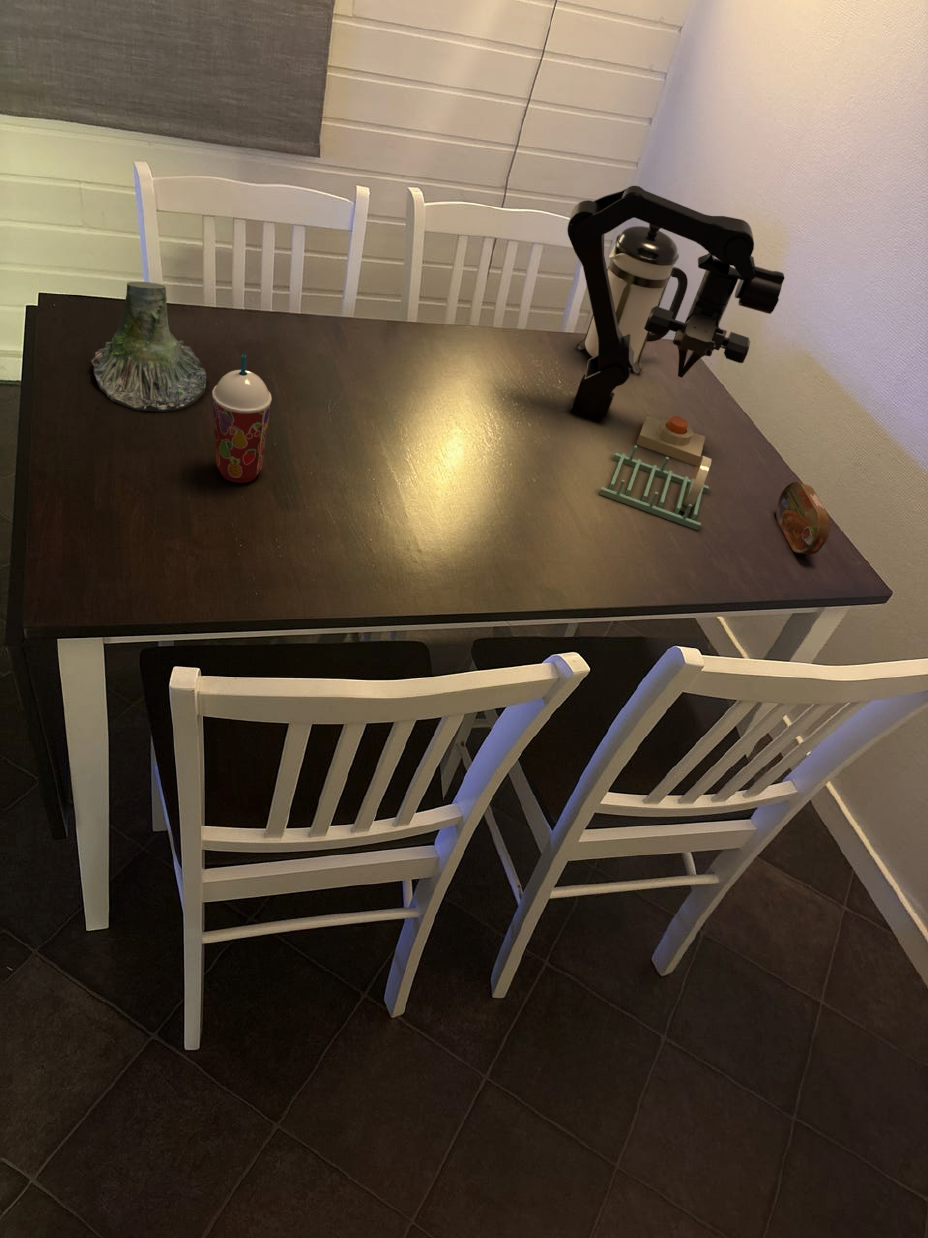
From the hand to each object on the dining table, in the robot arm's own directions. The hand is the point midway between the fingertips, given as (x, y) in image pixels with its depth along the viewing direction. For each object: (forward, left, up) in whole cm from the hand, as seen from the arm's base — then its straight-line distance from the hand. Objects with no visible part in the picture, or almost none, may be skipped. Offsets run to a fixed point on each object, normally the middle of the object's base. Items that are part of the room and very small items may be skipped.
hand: (680, 376), depth 167 cm
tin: (+28, -20, -12) cm, 37 cm away
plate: (+9, -22, -12) cm, 27 cm away
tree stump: (-84, -43, -12) cm, 95 cm away
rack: (+3, -22, -12) cm, 25 cm away
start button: (+3, -4, -8) cm, 10 cm away
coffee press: (-14, +23, -12) cm, 30 cm away
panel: (+3, -4, -12) cm, 13 cm away
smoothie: (-59, -58, -12) cm, 84 cm away
